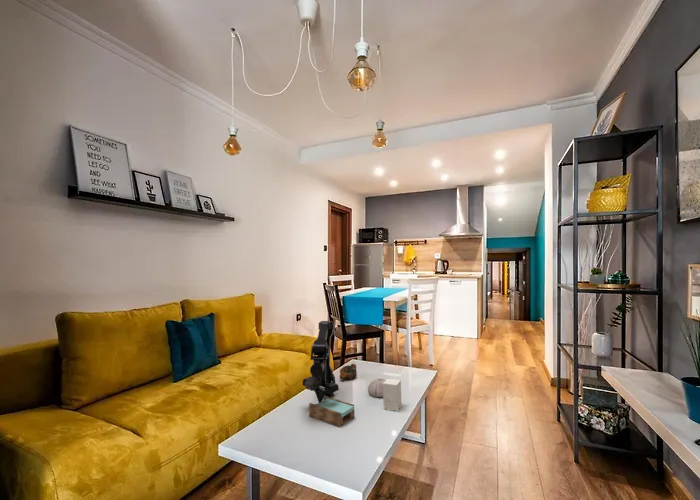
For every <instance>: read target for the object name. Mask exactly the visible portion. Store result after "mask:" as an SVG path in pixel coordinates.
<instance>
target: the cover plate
mask: <svg viewBox="0 0 700 500" xmlns="http://www.w3.org/2000/svg"><path fill="white" fill-rule="evenodd" d="M314 404H315V405H318V406H321V407H324V408H327V409H330V410H333V411H336V412H339V413H340V417H344V416H345V415H347V414H349V413H350V412H352V411H353V410H354V411H355V405H354V406H351V405H348V404H344V403H341V402H338V401H335V400H331V399H328V398H327V399H325V400H324V399H323V400H322V401H321V402H317V403H314Z"/></svg>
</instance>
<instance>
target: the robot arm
mask: <svg viewBox="0 0 700 500" xmlns="http://www.w3.org/2000/svg"><path fill="white" fill-rule="evenodd" d="M335 329H336V325H335V322H333V321H332V320H331V321H330V320H329V321H328V320H320V322H318V336H317V338H316V339H315V340H314V341H313V344H312V345H311V350H310V351H311V352H310V357H309V358H310V360H311V361H313V363H312V365H310V369H309V372H310V374H311V376H307V377H305V378H303V379H302V386H305V389H306V390H309V391H311V392H314V394H315V396H316V399H317V403H319V402H321V401H323V400H324V396H327V397H330V398H332V397H334V396H335V392H337V391H339V390H340V389H339V385H338V384H337V383H336V376H335V374H334V370H333V369H332V367H331V338H332V336H333V334H334V331H335Z"/></svg>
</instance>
